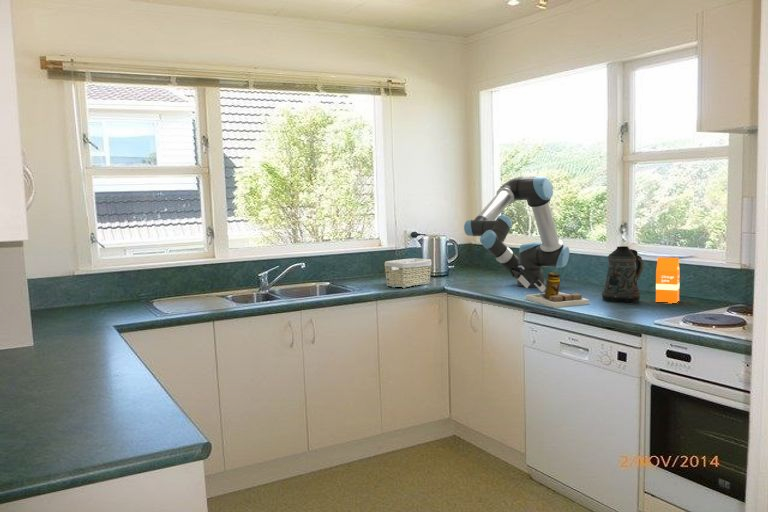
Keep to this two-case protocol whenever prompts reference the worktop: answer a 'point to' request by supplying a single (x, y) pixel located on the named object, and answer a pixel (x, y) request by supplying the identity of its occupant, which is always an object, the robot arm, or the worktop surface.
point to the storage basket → (408, 272)
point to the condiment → (551, 285)
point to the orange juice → (667, 280)
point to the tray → (556, 304)
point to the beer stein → (623, 276)
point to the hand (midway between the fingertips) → (536, 288)
